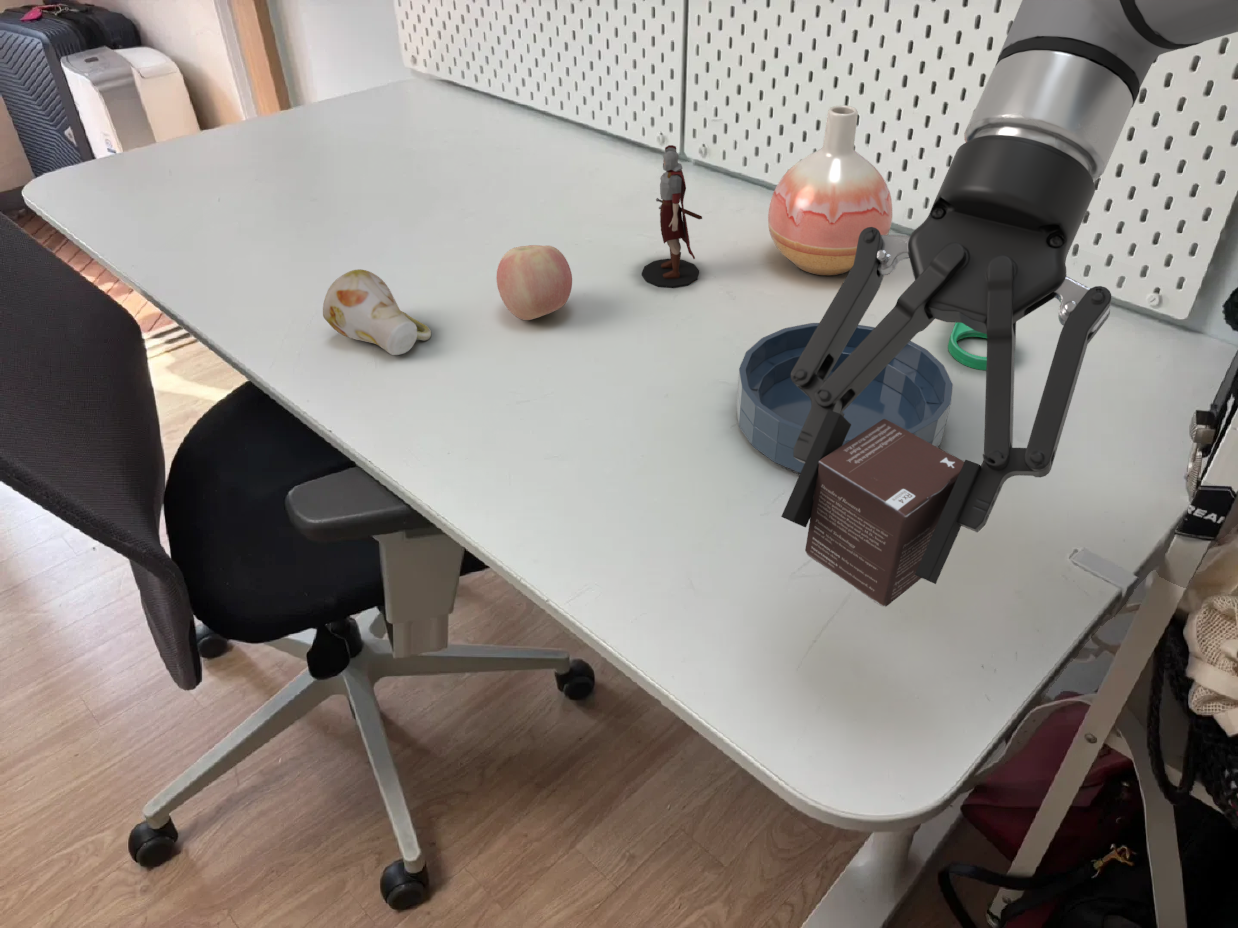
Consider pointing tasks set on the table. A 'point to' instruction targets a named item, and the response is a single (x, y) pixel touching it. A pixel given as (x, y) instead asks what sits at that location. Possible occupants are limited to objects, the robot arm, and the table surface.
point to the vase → (829, 201)
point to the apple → (534, 280)
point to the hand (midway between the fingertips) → (857, 549)
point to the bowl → (898, 393)
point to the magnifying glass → (961, 355)
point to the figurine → (672, 229)
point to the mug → (370, 313)
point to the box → (879, 508)
